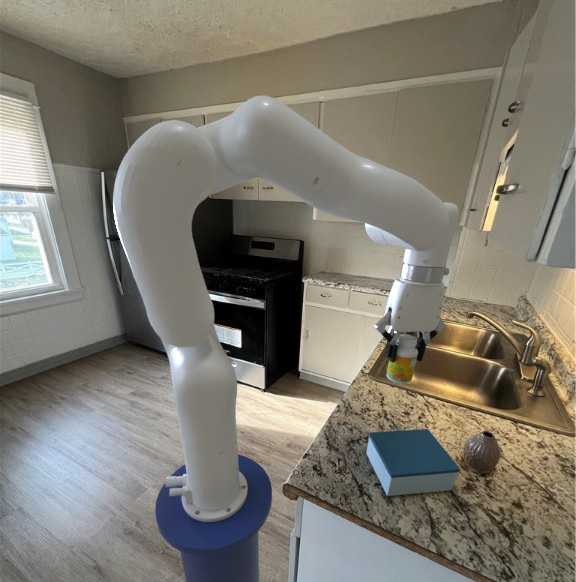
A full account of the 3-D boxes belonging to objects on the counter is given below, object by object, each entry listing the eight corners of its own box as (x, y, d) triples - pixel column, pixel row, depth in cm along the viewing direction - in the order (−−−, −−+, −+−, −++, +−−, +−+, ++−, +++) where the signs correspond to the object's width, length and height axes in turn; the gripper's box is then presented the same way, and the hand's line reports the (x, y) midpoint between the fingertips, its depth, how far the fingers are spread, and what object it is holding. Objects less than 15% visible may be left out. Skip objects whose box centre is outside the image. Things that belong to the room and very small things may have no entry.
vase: (474, 450, 75) (484, 421, 71) (501, 471, 69) (514, 440, 66) (453, 458, 73) (463, 428, 69) (479, 480, 67) (492, 448, 63)
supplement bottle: (381, 377, 70) (388, 336, 65) (394, 369, 73) (402, 331, 69) (403, 387, 66) (412, 345, 62) (416, 379, 69) (425, 338, 65)
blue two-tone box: (386, 497, 62) (391, 475, 60) (365, 452, 74) (368, 432, 71) (453, 490, 64) (460, 469, 62) (422, 448, 75) (427, 428, 73)
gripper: (450, 270, 64) (430, 350, 72) (371, 269, 62) (359, 352, 69) (475, 278, 57) (450, 365, 65) (387, 278, 55) (372, 369, 63)
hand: (403, 358), depth 67 cm, fingers closed on supplement bottle, 5 cm apart
